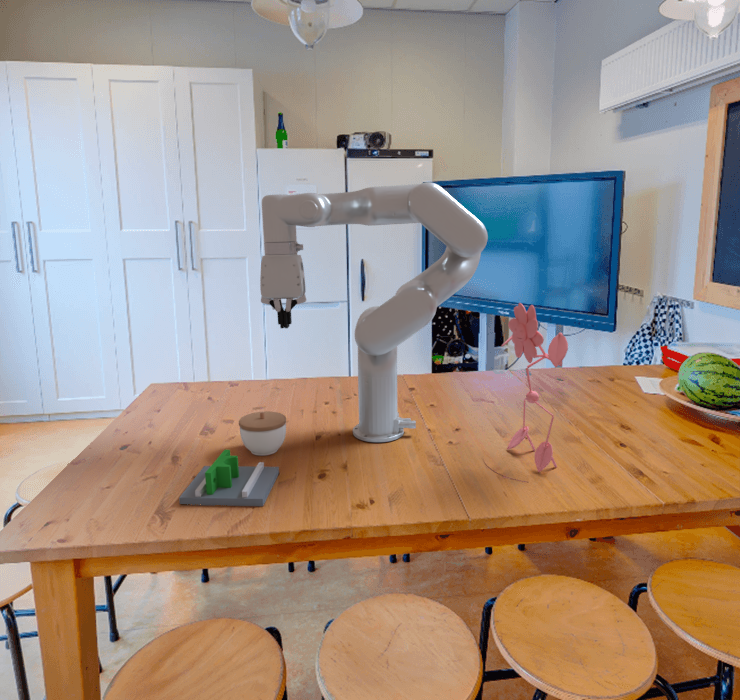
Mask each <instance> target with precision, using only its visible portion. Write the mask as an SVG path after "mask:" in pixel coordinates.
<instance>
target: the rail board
mask: <svg viewBox="0 0 740 700" xmlns="http://www.w3.org/2000/svg"><path fill="white" fill-rule="evenodd" d="M210 466H211V465H204V466H203V467H202V468H201V470H200V471H199V472H198V473H197V475H196V476H195V477H194V478H193V479H192V481H191V482H190V483H189V485H188V486H187V487H186V488H185V490H184V491H183V492H182V493H181V494H180V496H179V497H178V500H179V501H178V502H179V505H180V504H187V505H186V506H215V505H221V506H220V507H224V505H225V506H226V505H227V506H226V507H228V506H229V507H231V506H232V507H233V506H234V507H264V505H265V503H266V501H267V499H268V497H269V496H270V493H271V491H272V490H273V489H272V488H273V487H274V485H275V482H276V480H277V479H278V476H279V474H280V469H279V468H280V467H279V466H265V462H264V461H262V462H261V461H259V462H258V463H257V465H256V466H254V465H253V466H249V465H248V466H243V465H242V466H239V465H238V467H239V477H238V478H232V487H231V488H217V489H216V491H215V492H214V494H213V495H207V490H206V479H205V472H206V471H207V470H208V469H209V468H210ZM188 504H190V505H188ZM191 504H192V505H191ZM195 504H196V505H195ZM197 504H198V505H197ZM200 504H201V505H200ZM222 505H223V506H222Z"/></svg>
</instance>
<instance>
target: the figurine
mask: <svg viewBox="0 0 740 700" xmlns="http://www.w3.org/2000/svg"><path fill="white" fill-rule="evenodd" d="M536 312H537V311H536V308H535V306H534V305H533V304H531V305H529V307H528V309H527V310H526V307H525V306H524V305H523V303H521V302H518V305H516V306H515V307H513V313H514V317H515V318H514V317H513V318H511V319H509V321H508V324H507V326H508V328H509V330H510V331H511V332H512V335H511V336H510V337H508V338H507V340H505V342H503V343H502V344H501V347H504V346H505V345H506V344H508V343H509V342H510V341H511V342H512V344H514V346H513V347H514V353H515V356H516V358H518V359H520V358H521V357H522V355H523V354H524V357H525V360H526V361H527V362H528V365H527V366H526V368H525V372H526V378H527V384H528V388H529V391H528V392H527V393H526V395H525V398H524V399H523V415H522V416H523V417H522V419H523V420H522V421H523V422H522V423H523V424H522V427H521V428H519V429H518V431H516V432H515V434H514V435H513V436H512V437H511V440H510V441H509V443H508V446H507V447H506V450H512V449H514V448H516V447H517V446H519V445H520V444H521V443H522V442H523V441H524V440H525V439H526V438H527V441H528V442H529V444H530V446H531V448H532V451H533V452H534V463H535V467H536V469H537V471H538V473H541V472H542V471H544V470H545V468H546V467H547V466H549V464H550V463H551V462H552V464H553V467H554V468H557V467H558V465H557V463H556V460H555V459H554V456H553V453H554V452H553V445H552V443H550V442H549V438H550V434H551V431H552V426H553V422H554V419H555V415H554V414H553V413H551V411H549V410H548V409H547V408H545V407H544V406H543V405H541V404H540V403H539V402H538V401H539V398H540V396H539V394H538V392H537V391H536V390H532V386H531V385H532V383H531V379H530V378H531V377H530V371H529V368H531V367H533V366H535V365H536V364H538V363H540V362H541V361H543V360H544V359H546V360H549V361H550V363H551V364H552V365H553V366H554V367H555V368H557V367H558V366H560V367H563V361H564V359H565V358H566V355H567V353H568V350H569V343H568V340H567V337H566V336H565V335H563V334H564V333H562V332H558V333H557V335H555V336H554V337H553V338H552V339H551V341H550V342H549V344H548V349H547V352H545V350H544V349H543V347H542V345H543V343H544V336H543V334H542V333H541V332H540V331H538V327H539V323H538V320H537V313H536ZM537 347H538V348H539V349H540V351H541V354H538V351H537V350H538V349H537ZM536 358H538V359H536ZM533 359H536V360H534V361H533ZM526 401H527V402H528V403H529V404H536V405H537V406H539V408H541V409H542V410H543V411H545V412H546V413H548V414H549V415H550V416H551V419H550V425H549V428H548V431H547V436H546V439H545V441H543V442H541V443H540V444H539V445H538V447H537V448H535V445H534V443H533V441H532V440H531V437H530V435H529V429H530V428H529V426H528V425H527V426H526ZM483 462H484V464H486V462H485V461H484V459H483ZM484 467H485V468H487V469H488V468H489V469H490V470H491V471H493V472H494V473H496V474H498V475H500V476H501V477H503V479H510V480H515V481H518V482H522V483H529V481H525V480H520V479H516V478H512V477H509V476H506V475H503V474H501V473H498V472H497V471H495V470H493V469H492V468H490V467H489V466H488V465H485V466H484Z"/></svg>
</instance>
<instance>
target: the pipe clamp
mask: <svg viewBox="0 0 740 700" xmlns="http://www.w3.org/2000/svg"><path fill="white" fill-rule="evenodd" d="M238 458H239V457H238V455H231V449H226V448H225V449H224V450H223V451H222V452H221V453H220V454H219V455H218V457H217V458H216V459H215V460H214V461H213V463H212V464H211V465H209V466H210V468H209V469H208V470H207V471H206V472H205V479H206V490H207V495H213V494H214V492H215V491H216V489H217V488H231V487H232V478H238V477H239V467H238V466H239V459H238Z"/></svg>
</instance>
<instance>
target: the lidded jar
mask: <svg viewBox="0 0 740 700" xmlns="http://www.w3.org/2000/svg"><path fill="white" fill-rule="evenodd" d="M238 426H239V434H240V438H241V441H242V443H243V446H245V448H246V449H247V450H248V451H250V452H251V454H252V455H254V456H263V457H264V456H270V455H273V454H275V453H276V452H278V450H279V449H280V447H281V446H282V445H283V443H284V441H285V438H286V435H287V417H286V415H285V414H284V413H281V412H278V411H258V412H257V411H255V412H252V413H248V414H246V415H244V416H241V417H240V419H239V420H238Z"/></svg>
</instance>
